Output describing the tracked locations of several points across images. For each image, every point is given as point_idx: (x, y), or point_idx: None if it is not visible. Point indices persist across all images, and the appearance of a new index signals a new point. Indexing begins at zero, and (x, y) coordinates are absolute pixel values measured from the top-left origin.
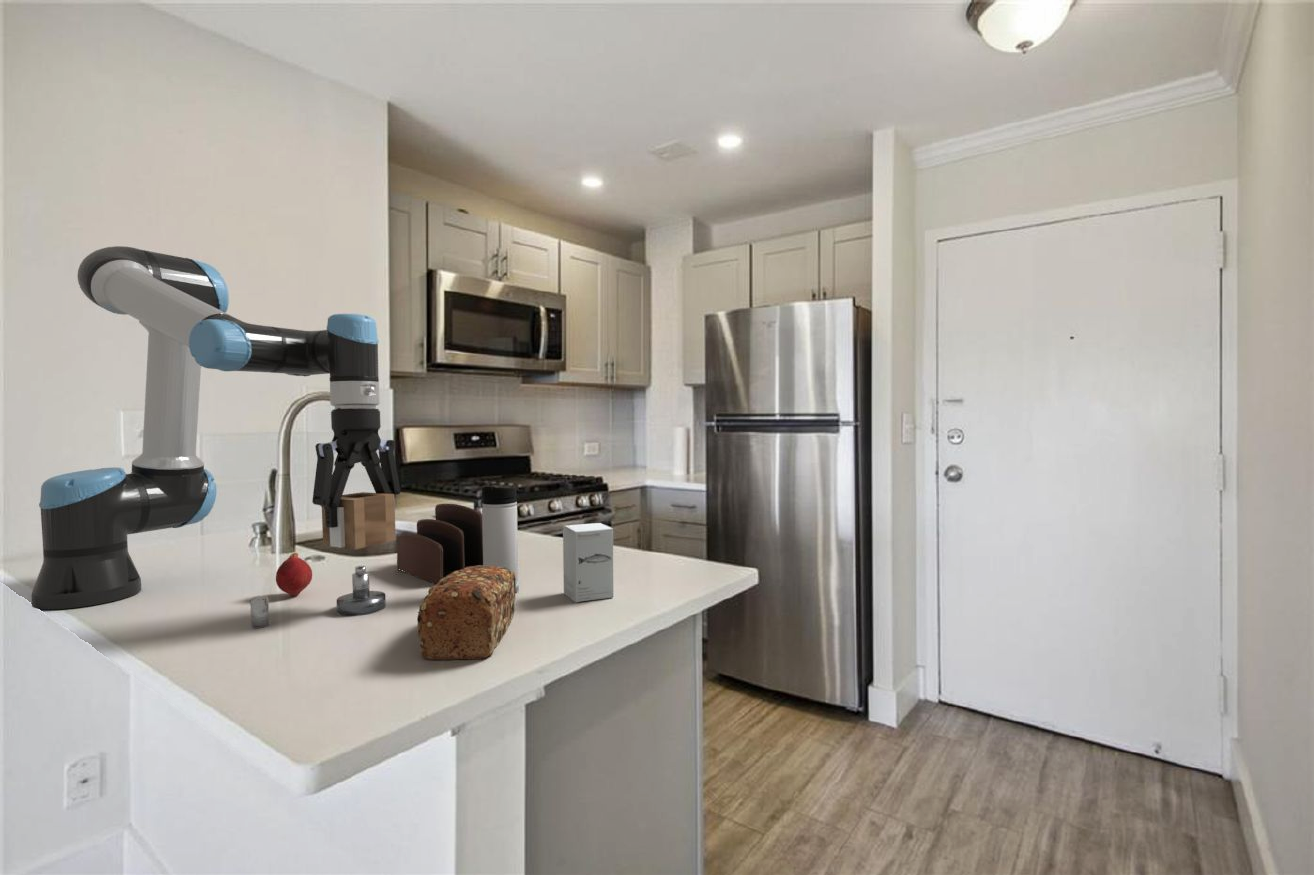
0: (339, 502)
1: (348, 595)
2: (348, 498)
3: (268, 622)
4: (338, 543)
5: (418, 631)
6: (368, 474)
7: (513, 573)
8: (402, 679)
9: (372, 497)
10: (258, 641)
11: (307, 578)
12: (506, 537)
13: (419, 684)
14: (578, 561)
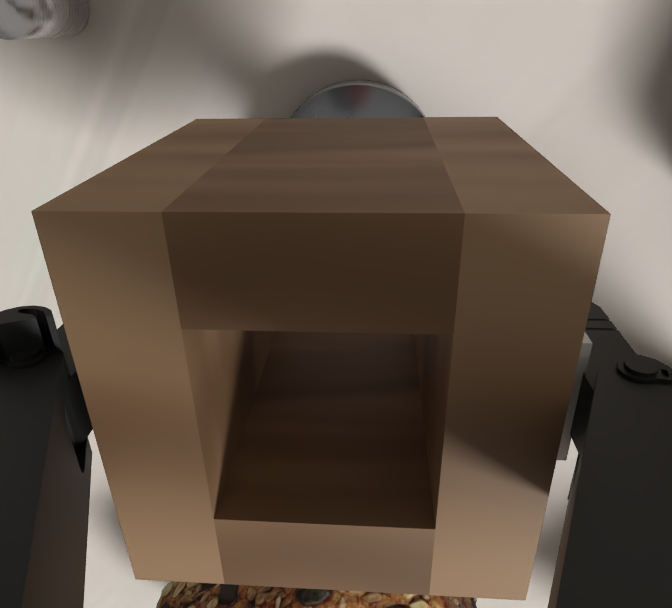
0: (88, 467)
1: (349, 109)
2: (165, 487)
3: (76, 31)
4: None
5: (162, 595)
6: (561, 590)
7: None
8: (121, 562)
9: (304, 586)
10: (11, 160)
11: None
12: None
13: (127, 589)
14: None
